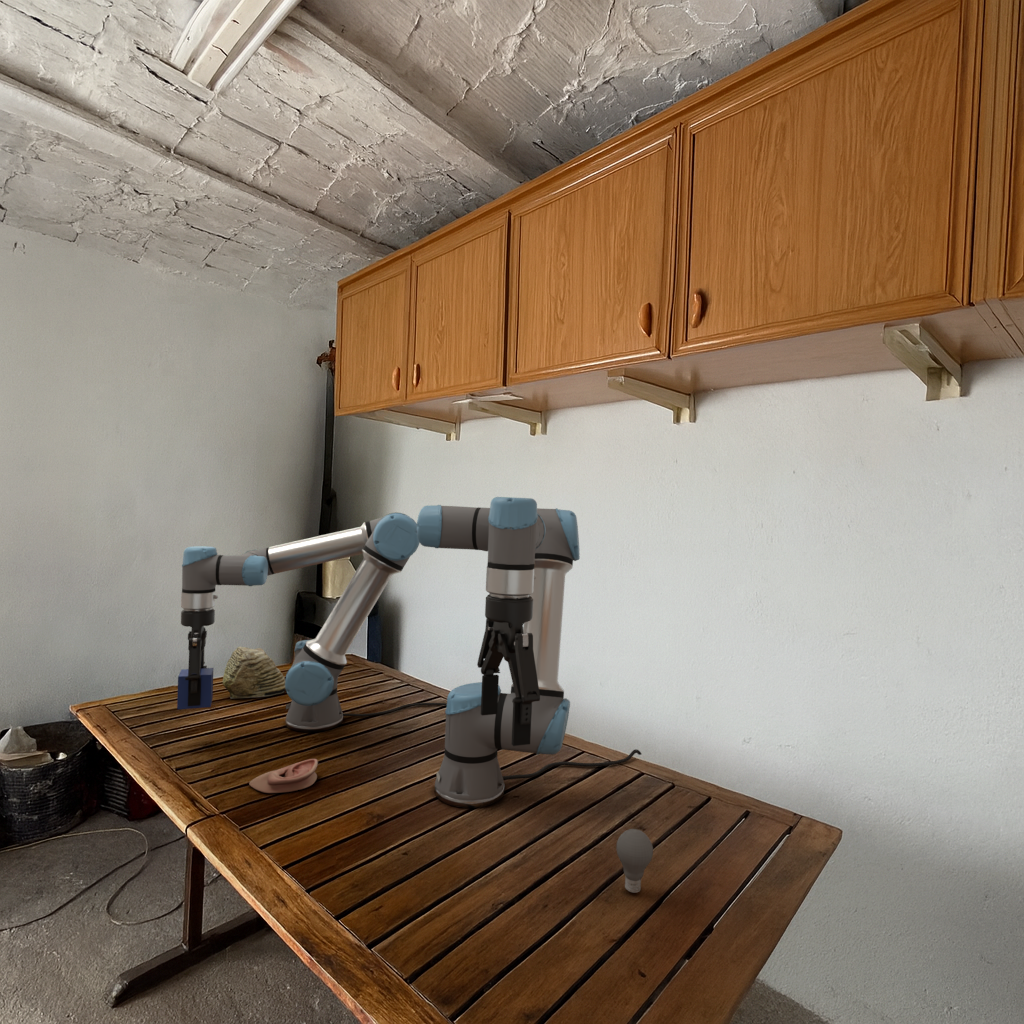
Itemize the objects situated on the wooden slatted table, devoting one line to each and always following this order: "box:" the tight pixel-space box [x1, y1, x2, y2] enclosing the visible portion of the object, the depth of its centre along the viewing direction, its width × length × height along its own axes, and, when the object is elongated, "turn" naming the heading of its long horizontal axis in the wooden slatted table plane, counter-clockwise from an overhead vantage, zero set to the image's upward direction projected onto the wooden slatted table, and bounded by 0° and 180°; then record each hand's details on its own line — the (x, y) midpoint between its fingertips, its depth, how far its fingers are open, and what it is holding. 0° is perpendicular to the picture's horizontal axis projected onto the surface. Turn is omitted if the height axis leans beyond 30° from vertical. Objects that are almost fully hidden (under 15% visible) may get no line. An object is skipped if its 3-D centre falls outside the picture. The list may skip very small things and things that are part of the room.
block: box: [176, 667, 214, 710], centre depth 158 cm, size 7×7×8 cm
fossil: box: [222, 646, 286, 699], centre depth 198 cm, size 9×18×15 cm, turn 132°
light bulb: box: [615, 828, 654, 894], centre depth 106 cm, size 6×6×10 cm
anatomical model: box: [248, 758, 319, 794], centre depth 139 cm, size 13×4×12 cm
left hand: (195, 700), depth 158 cm, fingers closed on block, 7 cm apart
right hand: (503, 728), depth 100 cm, fingers open, 13 cm apart
